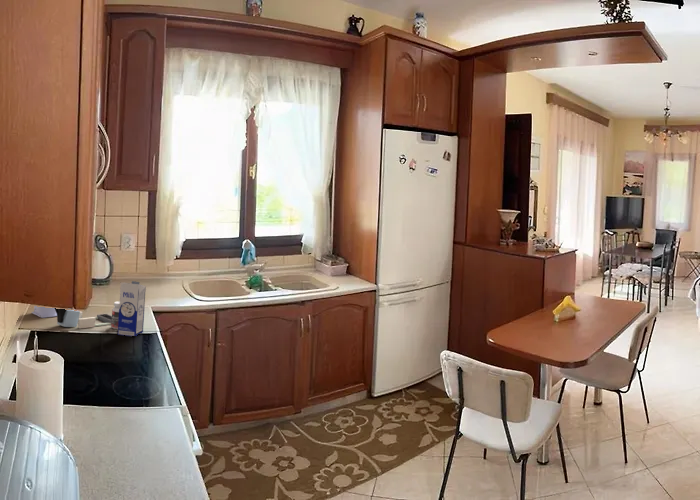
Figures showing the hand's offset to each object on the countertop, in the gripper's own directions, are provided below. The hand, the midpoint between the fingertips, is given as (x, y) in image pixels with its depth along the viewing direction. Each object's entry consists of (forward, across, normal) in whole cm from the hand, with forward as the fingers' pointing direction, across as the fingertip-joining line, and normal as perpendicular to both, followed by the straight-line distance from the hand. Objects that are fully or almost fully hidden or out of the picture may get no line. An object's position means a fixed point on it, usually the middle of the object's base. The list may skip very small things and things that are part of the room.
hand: (60, 322), depth 218 cm
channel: (+2, +11, +1) cm, 11 cm away
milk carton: (+2, +17, -20) cm, 27 cm away
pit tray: (+2, +19, +1) cm, 19 cm away
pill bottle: (+2, +18, -10) cm, 21 cm away
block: (+2, +3, 0) cm, 3 cm away
